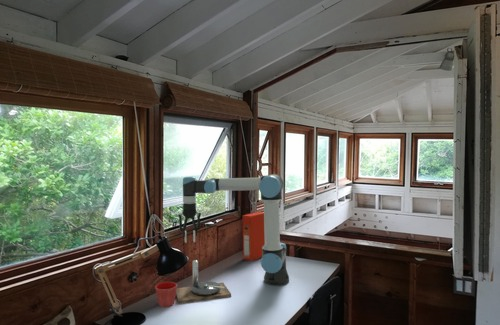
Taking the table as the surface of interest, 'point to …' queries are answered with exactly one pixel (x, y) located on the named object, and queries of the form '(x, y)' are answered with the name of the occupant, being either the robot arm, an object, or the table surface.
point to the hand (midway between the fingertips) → (190, 241)
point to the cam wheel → (203, 284)
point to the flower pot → (166, 293)
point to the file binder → (253, 235)
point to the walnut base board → (187, 296)
